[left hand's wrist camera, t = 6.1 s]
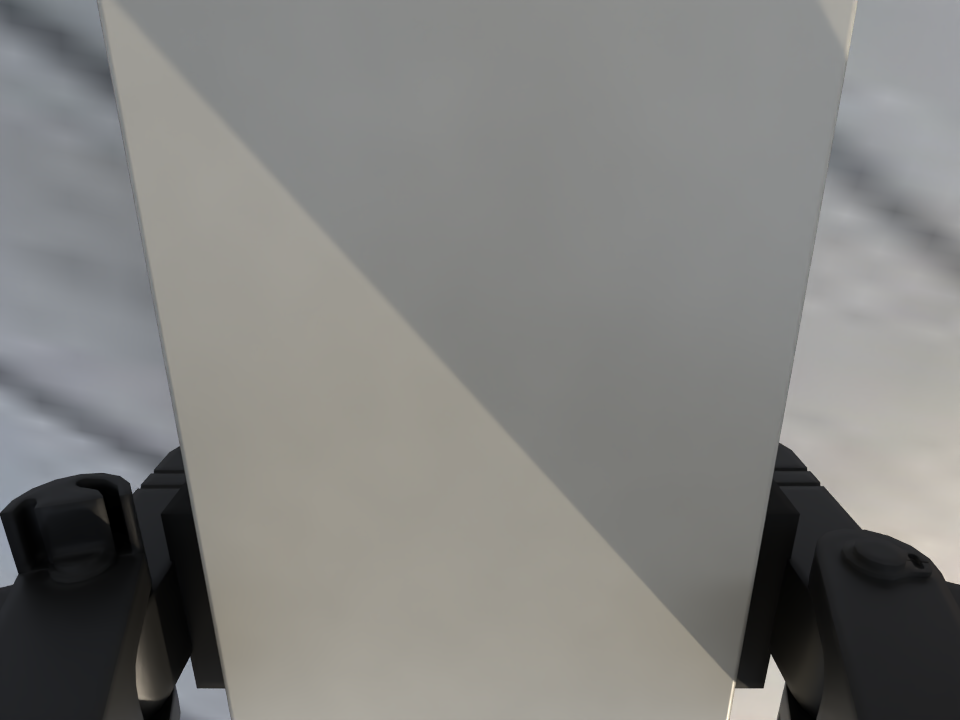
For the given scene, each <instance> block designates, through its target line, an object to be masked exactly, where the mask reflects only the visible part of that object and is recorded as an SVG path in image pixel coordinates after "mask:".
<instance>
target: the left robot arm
mask: <svg viewBox="0 0 960 720" xmlns="http://www.w3.org/2000/svg"><path fill="white" fill-rule="evenodd" d="M0 517H1V520H2V523H3V526H4V529H5V533H6V536H7V539H8V542H9V545H10V548H11V552H12V555H13V558H14V561H15V564H16V567H17V571H18V576H17V578H16V580H15V582H14V584H13V585H10V586H6V587H2V588H0V720H180V706H179V699H178V694H177V690H176V686H175V684H176V682H177V680H178V679H179V677H180V675H181V673H182V671H183V669H184V667H185V665H186V663H187V661H188V659H189V657H191V662H192V666H193V671H194V676H195V681H196V685H197V688H225V684H224V678H223V673H222V668H221V662H220V657H219V652H218V646H217V641H216V636H215V630H214V625H213V619H212V614H211V609H210V603H209V598H208V593H207V587H206V582H205V577H204V571H203V566H202V561H201V555H200V550H199V545H198V539H197V534H196V529H195V523H194V518H193V512H192V507H191V502H190V496H189V491H188V486H187V480H186V475H185V470H184V464H183V459H182V454H181V448H180V446H179V447H178V448H176V449H174V450H173V451H171V452H169V454H168V455H167V456H166V457H165V458H164V459H163V460H162V462H161V463H160V464H159V465H158V466H157V467H156V468H155V469H154V474H150V475H149V476H148V477H147V479H146V480H145V481H144V482H143V483H142V484H141V489H137V490H136V491H135V492H134V493H133V494H132V490H131V486H130V483H129V482H127V481H126V480H125V479H123V478H122V477H120V476H117V475H111V474H106V473H93V474H79V475H75V476H70V477H66V478H61V479H57V480H54V481H51V482H49V483H46V484H43V485H41V486H38V487H35V488H33V489H31V490H29V491H28V492H26V493H24V494H22V495H21V496H19V497H17V498H16V499H14V500H12V501H11V502H10V503H9V504H8V505H7V506H6V508H5V509H4V510H3V511H2V512H1V513H0ZM770 655H772V657H773V659H774V661H775V662H776V664H777V666H778V668H779V670H780V672H781V674H782V676H783V678H784V680H785V686H784V690H783V694H782V699H781V703H780V708H779V712H778V717H777V720H960V585H959V584H954V583H950V582H947V581H945V579H944V577H943V575H942V573H941V572H940V571H939V570H938V568H937V567H936V566H935V565H934V563H933V562H932V561H931V560H930V559H929V558H928V557H926V556H925V555H924V554H922V553H921V552H919V551H918V550H916V549H915V548H913V547H912V546H910V545H908V544H906V543H904V542H901V541H899V540H897V539H895V538H892V537H890V536H887V535H883V534H879V533H876V532H872V531H868V530H862V529H861V528H860V527H859V526H858V525H857V523H856V522H855V521H854V520H853V519H852V518H851V517H850V516H849V514H848V513H847V512H846V511H845V510H844V509H843V508H842V507H841V505H840V504H839V503H838V502H837V501H836V500H835V499H834V497H833V496H832V495H831V494H830V493H829V492H828V491H827V490H826V488H825V487H824V486H820V482H819V481H818V479H817V478H816V477H815V476H814V475H813V474H812V473H811V472H810V471H807V467H806V466H805V465H804V464H803V463H802V461H801V460H800V459H799V458H798V457H797V456H796V455H795V453H794V452H793V451H792V450H791V449H789V448H787V447H785V446H784V445H782V444H780V443H779V445H778V450H777V456H776V461H775V467H774V473H773V478H772V484H771V489H770V495H769V500H768V506H767V512H766V517H765V523H764V528H763V534H762V540H761V545H760V551H759V556H758V562H757V568H756V573H755V579H754V584H753V590H752V596H751V601H750V607H749V612H748V618H747V624H746V629H745V635H744V640H743V646H742V652H741V657H740V663H739V668H738V674H737V680H736V685H735V688H764V683H765V679H766V674H767V669H768V664H769V660H770Z"/></svg>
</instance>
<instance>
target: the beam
mask: <svg viewBox="0 0 960 720" xmlns="http://www.w3.org/2000/svg"><path fill="white" fill-rule="evenodd" d="M857 3H858V0H97V4H98V9H99V15H100V20H101V25H102V31H103V36H104V41H105V47H106V52H107V58H108V63H109V68H110V74H111V79H112V84H113V90H114V95H115V100H116V106H117V111H118V116H119V122H120V127H121V132H122V138H123V143H124V149H125V154H126V159H127V165H128V170H129V175H130V181H131V186H132V191H133V197H134V202H135V207H136V213H137V218H138V223H139V229H140V234H141V240H142V245H143V250H144V256H145V261H146V266H147V272H148V277H149V282H150V288H151V293H152V298H153V304H154V309H155V314H156V320H157V325H158V330H159V336H160V341H161V347H162V352H163V357H164V363H165V368H166V373H167V379H168V384H169V389H170V395H171V400H172V405H173V411H174V416H175V421H176V427H177V432H178V438H179V443H180V448H181V454H182V459H183V464H184V470H185V475H186V480H187V486H188V491H189V496H190V502H191V507H192V512H193V518H194V523H195V529H196V534H197V539H198V545H199V550H200V555H201V561H202V566H203V571H204V577H205V582H206V587H207V593H208V598H209V603H210V609H211V614H212V619H213V625H214V630H215V636H216V641H217V646H218V652H219V657H220V662H221V668H222V673H223V678H224V684H225V689H226V694H227V700H228V705H229V710H230V716H231V720H729V719H730V713H731V707H732V702H733V696H734V691H735V685H736V680H737V674H738V668H739V663H740V657H741V652H742V646H743V640H744V635H745V629H746V624H747V618H748V612H749V607H750V601H751V596H752V590H753V584H754V579H755V573H756V568H757V562H758V556H759V551H760V545H761V540H762V534H763V528H764V523H765V517H766V512H767V506H768V500H769V495H770V489H771V484H772V478H773V473H774V467H775V461H776V456H777V450H778V445H779V439H780V433H781V428H782V422H783V417H784V411H785V405H786V400H787V394H788V389H789V383H790V377H791V372H792V366H793V361H794V355H795V349H796V344H797V338H798V333H799V327H800V321H801V316H802V310H803V305H804V299H805V293H806V288H807V282H808V277H809V271H810V266H811V260H812V254H813V249H814V243H815V238H816V232H817V226H818V221H819V215H820V210H821V204H822V198H823V193H824V187H825V182H826V176H827V170H828V165H829V159H830V154H831V148H832V142H833V137H834V131H835V126H836V120H837V114H838V109H839V103H840V98H841V92H842V87H843V81H844V75H845V70H846V64H847V59H848V53H849V47H850V42H851V36H852V31H853V25H854V19H855V14H856V8H857Z"/></svg>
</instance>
